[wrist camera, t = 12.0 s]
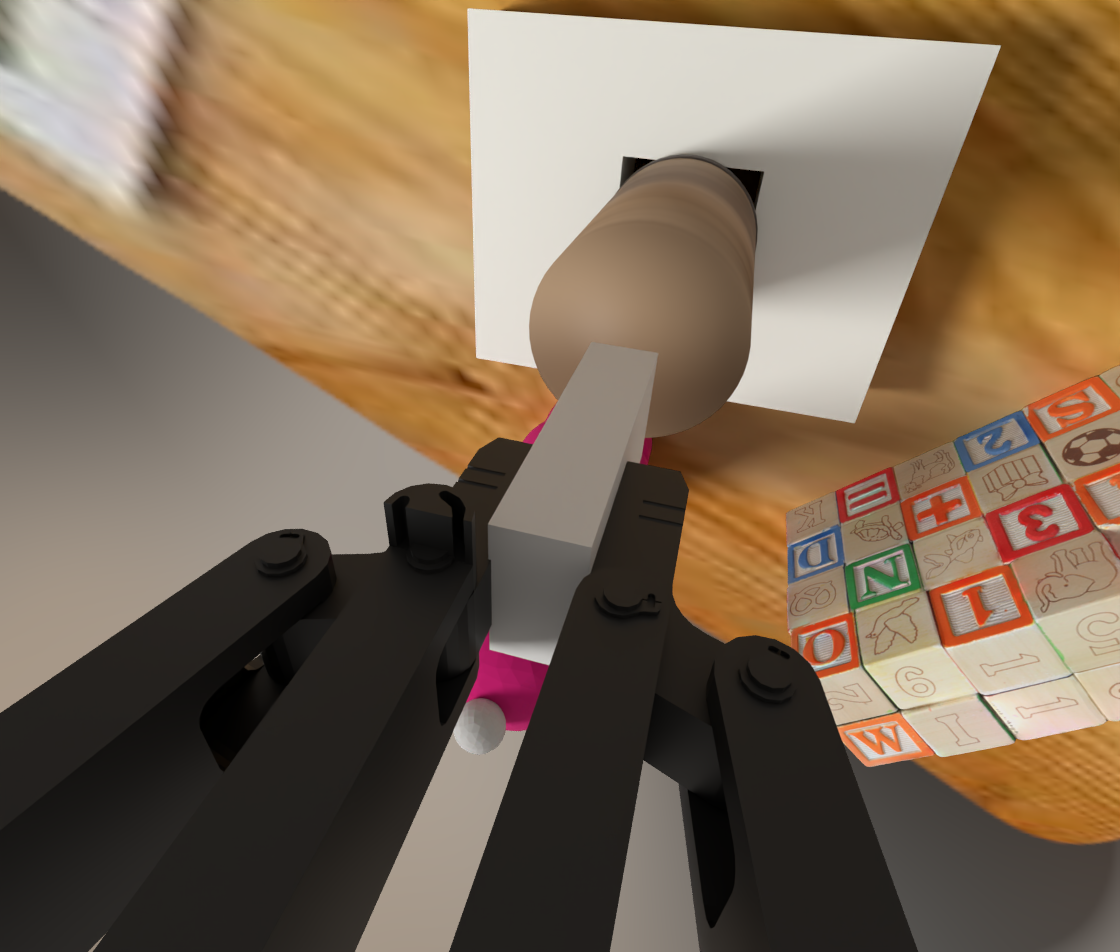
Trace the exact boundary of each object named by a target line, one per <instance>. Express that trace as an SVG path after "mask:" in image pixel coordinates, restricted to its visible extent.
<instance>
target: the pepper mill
mask: <svg viewBox="0 0 1120 952" xmlns="http://www.w3.org/2000/svg"><path fill="white" fill-rule="evenodd" d="M554 407H555V406H554ZM554 407H553V408H552V410H553V409H554ZM552 410H551V411H550V413H549V415H548V417H547V419H548V418H549V416H550V414H551V412H552ZM547 419H546V421H547ZM546 421H545V422H543V423H541V424H539V425H538V426H537V427H536V428H534V429H533V430H532V431H531V432H530V433H529V434H528V435H527V436H526V438H525V439H524V441H523V442H524V443H529V444H534V442H535V440H536V439H537V437H538V435H539V433H540V432H541V430H542V428H543V426H544V425H545V423H546ZM651 450H652V438H645V439H644V445H643V451H642V457H641V460H640V464H645V465H648V461H649V457H650V453H651ZM548 667H549V665H546V664H542V663H539V662H535V661H531V660H527V659H523V658H520V657H516V656H512V655H508V654H504V653H500V652H497V651H493V650H490V643H489V632H488V634H487V636H486V638H485V640H484V642H483V645H482V647H481V649H480V651H479V670H478V675H477V679H476V681H475V683H474V686H473V688H472V690H471V692H470V695H469V697H468V699H467V701H466V704H465V706H464V708H463V710H462V713H461V715H460V717H459V719H458V722H457V724H456V726H455V728H454V730H453V732H454V735H455V738H456V741H457V742H458V744H459V745H460V746H461V747H462V748H463V749H464V750H466V751H467V752H470V753H472V754H477V755H478V754H485V753H488V752H490V751H491V750H494V749H495V748H496V747H497V746H498V745H499V744H500V742H501V741H502V739H503V737H504V735H505V731H506V730H510V731H522V730H527V727H528V725H529V722H530V719H531V716H532V713H533V710H534V707H535V705H536V702H537V699H538V696H539V693H540V690H541V687H542V684H543V682H544V679H545V676H546V673H547V670H548Z"/></svg>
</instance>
